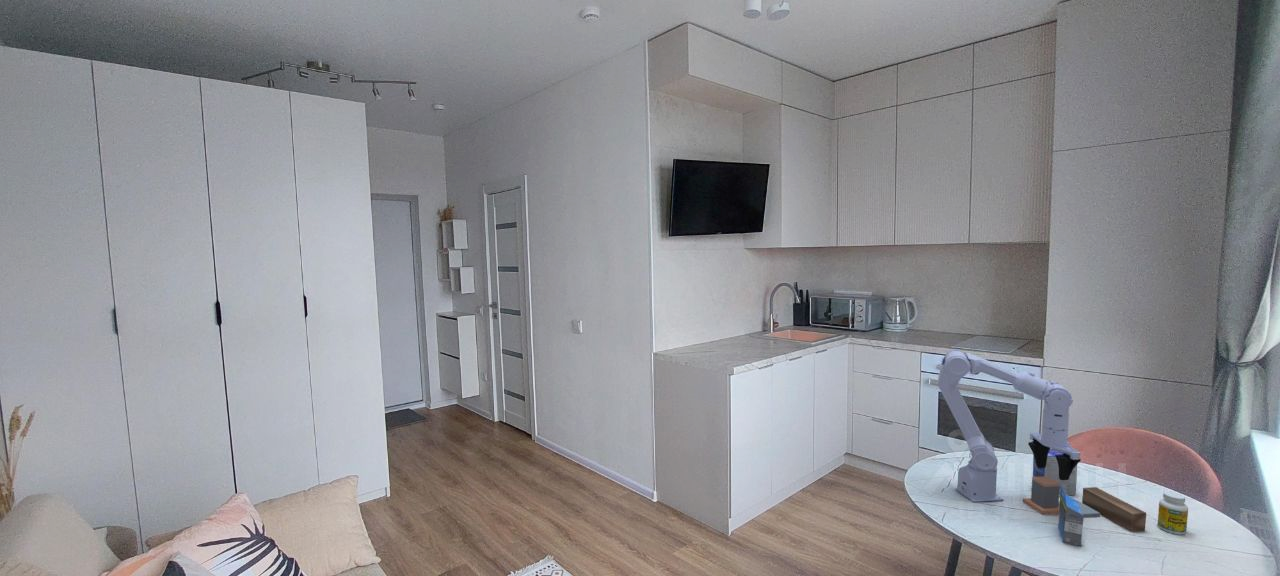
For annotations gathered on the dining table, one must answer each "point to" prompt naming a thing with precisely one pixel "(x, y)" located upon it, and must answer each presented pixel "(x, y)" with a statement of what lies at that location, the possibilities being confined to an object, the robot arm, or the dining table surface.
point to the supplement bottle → (1173, 513)
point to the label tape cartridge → (1070, 519)
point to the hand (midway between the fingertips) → (1052, 473)
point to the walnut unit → (1114, 509)
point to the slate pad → (1087, 510)
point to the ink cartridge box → (1056, 472)
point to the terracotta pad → (1040, 509)
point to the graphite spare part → (1045, 492)
